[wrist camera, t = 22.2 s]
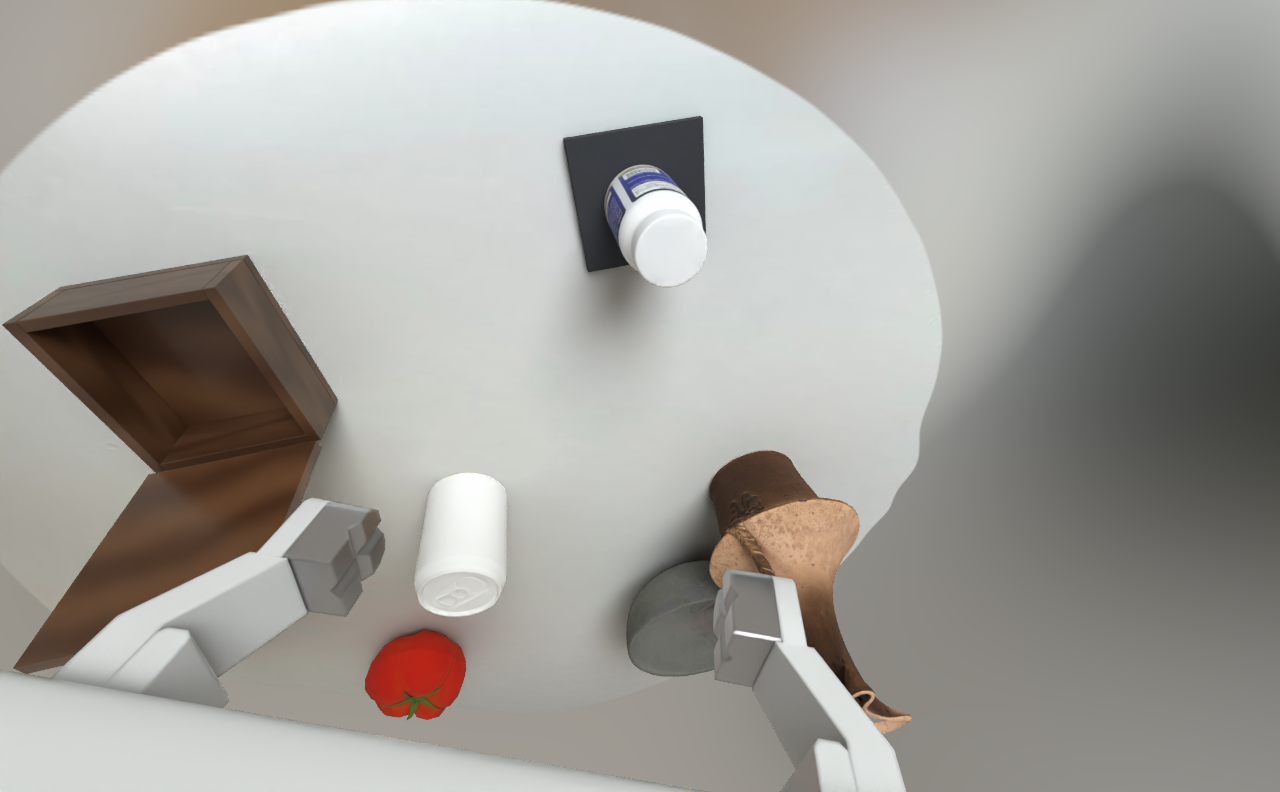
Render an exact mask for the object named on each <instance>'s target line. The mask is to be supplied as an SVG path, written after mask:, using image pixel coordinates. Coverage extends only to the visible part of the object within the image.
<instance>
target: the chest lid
mask: <svg viewBox="0 0 1280 792" xmlns="http://www.w3.org/2000/svg"><path fill="white" fill-rule="evenodd" d="M320 451H321V446H320V445H319V443H318V442H317V441H312V442H307V443H302V444H297V445H292V446H287V447H283V448H278V449H273V450H268V451H263V452H258V453H253V454H248V455H243V456H238V457H233V458H228V459H223V460H218V461H213V462H209V463H204V464H199V465H194V466H189V467H184V468H179V469H174V470H169V471H164V472H159V473H154V474H149V475H148V476H147V478H146V479H145V481H144V482H143V484H142V485H141V486H140V488H139V489H138V491H137V492H136V493H135V495H134V496H133V498H132V499H131V501H130V502H129V503H128V505H127V506H126V508H125V509H124V511H123V512H122V513H121V515H120V516H119V518H118V519H117V521H116V522H115V523H114V525H113V526H112V528H111V529H110V531H109V532H108V533H107V535H106V536H105V538H104V539H103V541H102V542H101V543H100V545H99V546H98V548H97V549H96V551H95V552H94V553H93V555H92V556H91V558H90V559H89V561H88V562H87V563H86V565H85V566H84V568H83V569H82V570H81V572H80V573H79V575H78V576H77V578H76V579H75V580H74V582H73V583H72V585H71V586H70V588H69V589H68V590H67V592H66V593H65V595H64V596H63V598H62V599H61V600H60V602H59V603H58V605H57V606H56V608H55V609H54V610H53V612H52V613H51V615H50V616H49V618H48V619H47V620H46V622H45V623H44V625H43V626H42V628H41V629H40V631H39V632H38V634H37V635H36V636H35V638H34V639H33V640H32V642H31V643H30V645H29V646H28V648H27V649H26V650H25V652H24V653H23V655H22V656H21V658H20V659H19V661H18V662H17V663H16V665H15V666H14V667H13V668H14V669H16V670H18V671H21V672H23V673H25V674H28V673H32V672H36V671H41V670H45V669H50V668H54V667H58V666H63V665H65V664H66V663H67V662H68V661H69V660H70V659H71V658H72V657H74V656H75V655H76V654H77V653H78V652H79V651H80V650H81V649H82V648H83V647H84V646H85V645H86V644H87V643H88V642H90V641H91V640H92V639H93V638H94V637H95V636H96V635H97V634H98V633H99V632H100V631H101V630H102V629H103V628H104V627H105V626H107V625H108V624H109V623H110V622H111V621H112V620H113V619H114V618H115V617H116V616H117V615H120V614H122V613H124V612H126V611H128V610H130V609H132V608H134V607H136V606H138V605H140V604H142V603H144V602H147V601H149V600H151V599H153V598H155V597H157V596H159V595H161V594H163V593H165V592H167V591H169V590H171V589H174V588H176V587H178V586H180V585H182V584H184V583H186V582H188V581H190V580H192V579H194V578H196V577H199V576H201V575H203V574H205V573H207V572H209V571H211V570H213V569H215V568H217V567H219V566H221V565H223V564H226V563H228V562H230V561H232V560H234V559H236V558H238V557H240V556H242V555H244V554H246V553H248V552H255V553H257V552H258V551H259V549H260V548H261V547H262V546H263V545H264V544H265V543H266V542H267V541H268V540H269V539H270V537H271V536H272V535H273V534H274V533H275V532H276V531H277V530H278V529H279V528H280V527H281V525H282V524H283V523H284V522H285V521H286V520H287V519H288V518H289V517H290V516H291V515H292V513H293V512H294V511H295V510H296V509H297V508H298V507H299V505H300V503H301V500H302V498H303V495H304V492H305V490H306V487H307V485H308V482H309V479H310V477H311V474H312V472H313V469H314V466H315V464H316V461H317V458H318V456H319V453H320Z"/></svg>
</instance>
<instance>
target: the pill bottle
mask: <svg viewBox="0 0 1280 792" xmlns="http://www.w3.org/2000/svg"><path fill="white" fill-rule="evenodd" d="M604 207H605V215H606V218H607V221H608V224H609V226H610V228H611V230H612V232H613V234H614V237H615V239H616V241H617V243H618V246H619V248H620V250H621V252H622V254H623V256H624V258H625V259H626V261H627V262H628V263H629V264H630V265H631V266H632V267H633V268H634V269H635V270H637V271H639V272H640V274H641V275H642V276H643V278H644V279H646V280H647V281H648V282H650V283H651V284H653V285H656V286H660V287H674V286H678V285H681V284H683V283H685V282H687V281H689V280H690V279H692V278H693V277H694V276H695V275H696V274H697V273H698V272H699V270H700V269H701V267H702V266H703V264H704V262H705V259H706V256H707V250H708V249H707V248H708V244H707V238H706V234H705V232H704V230H703V226H702V220H701V216H700V214H699V212H698V210H697V208H696V207H695V205H694V204H693V203H692V201H691V200H690V199H689V198H688V197H687V196H686V195H685V194H684V193H683V191H682V190H681V189H680V188H679V187H678V186H677V185H676V183H675V182H674V181H673V180H672V179H671V178H670V177H669V176H668V175H667V174H666V173H665V172H664V171H662V170H660V169H659V168H657V167H654V166H650V165H636V166H632V167H630V168H627V169H625V170H624V171H622V172H621V173H620V174H618V175H617V176H616V177H615V178H614V180H613V181H612V182H611V184H610V186H609V188H608V190H607V193H606V196H605V204H604Z"/></svg>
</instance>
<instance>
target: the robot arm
mask: <svg viewBox="0 0 1280 792" xmlns="http://www.w3.org/2000/svg"><path fill="white" fill-rule="evenodd" d="M380 521H381V518H380V515H379V511H378V510H374V509H369V508H364V507H359V506H354V505H349V504H344V503H338V502H333V501H328V500H322V499H317V498H309V499H308V500H306V501H304V502H303V503H302V504H301V505H300V506H299V507H298V508H297V509H296V510H295V511H294V512H293V513H292V515H291V516H290V517H289V518H288V519H287V520H286V521H285V522H284V523H283V524H282V525H281V527H280V528H279V529H278V530H277V531H276V532H275V533H274V534H273V535H272V536H271V537H270V539H269V540H268V541H267V542H266V543H265V544H264V545H263V546H262V547H261V548H260V549H259V551H258V552H257V553H255V552H248V553H246V554H244V555H242V556H240V557H238V558H236V559H234V560H232V561H230V562H228V563H226V564H223V565H221V566H219V567H217V568H215V569H213V570H211V571H209V572H207V573H205V574H203V575H201V576H199V577H196V578H194V579H192V580H190V581H188V582H186V583H184V584H182V585H180V586H178V587H176V588H174V589H171V590H169V591H167V592H165V593H163V594H161V595H159V596H157V597H155V598H153V599H151V600H149V601H147V602H144V603H142V604H140V605H138V606H136V607H134V608H132V609H130V610H128V611H126V612H124V613H122V614H120V615H117V616H116V617H115V618H114V619H113V620H112V621H111V622H110V623H109V624H108V625H107V626H105V627H104V628H103V629H102V630H101V631H100V632H99V633H98V634H97V635H96V636H95V637H94V638H93V639H92V640H91V641H90V642H88V643H87V644H86V645H85V646H84V647H83V648H82V649H81V650H80V651H79V652H78V653H77V654H76V655H75V656H74V657H72V658H71V659H70V660H69V661H68V662H67V663H66V664H65V665H64V666H63V667H62V668H61V669H60V670H59V671H58V672H57V673H55V674H54V675H53V676H52V677H51V678H46V677H40V676H35V675H29V674H23V673H17V672H11V671H5V670H0V792H705V791H699V790H694V789H688V788H682V787H677V786H670V785H665V784H659V783H654V782H648V781H642V780H636V779H630V778H625V777H618V776H613V775H607V774H601V773H595V772H590V771H584V770H578V769H573V768H567V767H561V766H555V765H550V764H544V763H538V762H532V761H526V760H521V759H515V758H509V757H503V756H498V755H492V754H486V753H480V752H474V751H469V750H463V749H457V748H451V747H446V746H440V745H434V744H428V743H422V742H417V741H411V740H405V739H400V738H394V737H388V736H382V735H376V734H370V733H365V732H358V731H353V730H347V729H342V728H336V727H330V726H324V725H318V724H312V723H307V722H301V721H295V720H289V719H283V718H278V717H272V716H266V715H260V714H255V713H249V712H243V711H237V710H232V709H226V708H224V707H225V706H226V704H227V703H228V701H229V700H228V694H227V692H226V691H225V689H224V687H223V686H222V684H221V682H220V681H219V679H218V677H219V676H221V675H222V674H224V673H225V672H226V671H228V670H229V669H231V668H232V667H233V666H235V665H236V664H238V663H239V662H240V661H242V660H243V659H245V658H246V657H247V656H249V655H250V654H252V653H253V652H254V651H256V650H257V649H259V648H260V647H262V646H263V645H264V644H266V643H267V642H269V641H270V640H271V639H273V638H274V637H276V636H277V635H278V634H280V633H281V632H283V631H284V630H285V629H287V628H288V627H290V626H291V625H292V624H294V623H295V622H297V621H298V620H300V619H301V618H302V617H304V616H305V615H307V614H308V612H307V611H309V612H316V613H323V614H330V615H337V616H344V617H346V616H347V614H348V613H349V611H350V610H351V608H352V607H353V605H354V603H355V602H356V600H357V599H358V597H359V596H360V594H361V593H362V591H363V590H362V583H361V581H363V580H364V579H366V578H368V577H369V576H371V575H373V574H374V572H375V571H376V569H377V567H378V566H379V564H380V562H381V559H382V556H383V554H384V551H385V537H384V534H383V533H382V532H381V531H380V530H379V529H378V528H377V526H378V524H379V523H380ZM713 632H714V634H715V635H716V637H717V638H718V641H717V643H716V646H715V649H714V671H715V680H718V681H723V682H728V683H733V684H738V685H744V686H748V687H753V688H752V690H753V692H754V694H755V696H756V698H757V699H758V701H759V703H760V705H761V707H762V709H763V711H764V712H765V714H766V716H767V718H768V720H769V722H770V723H771V725H772V727H773V729H774V731H775V733H776V734H777V736H778V738H779V740H780V742H781V743H782V745H783V747H784V749H785V751H786V753H787V754H788V756H789V758H790V760H791V762H792V764H793V765H794V767H795V769H796V770H795V771H794V773H793V774H792V776H791V777H790V778H789V780H788V781H787V783H786V784H785V786H784V787H783V788H782V790H781V791H780V792H906V789H905V786H904V782H903V779H902V775H901V772H900V768H899V765H898V761H897V758H896V754H895V751H894V749H893V748H892V747H891V745H890V744H889V743H888V741H887V740H886V739H885V738H884V736H883V735H882V734H881V732H880V731H879V730H878V729H877V727H876V726H875V725H874V724H873V722H872V721H871V720H870V718H869V717H868V716H867V715H866V713H865V712H864V711H863V710H862V708H861V707H860V706H859V704H858V703H857V702H856V701H855V699H854V698H853V697H852V696H851V694H850V693H849V692H848V690H847V689H846V688H845V687H844V685H843V684H842V683H841V682H840V680H839V679H838V678H837V676H836V675H835V674H834V673H833V671H832V670H831V669H830V668H829V666H828V665H827V664H826V662H825V661H824V660H823V659H822V657H821V656H820V655H819V654H818V652H817V651H816V650H815V648H813V647H808V646H807V642H806V636H805V631H804V626H803V621H802V616H801V610H800V605H799V600H798V595H797V590H796V585H795V582H794V581H793V579H788V578H782V577H776V576H770V575H767V574H760V573H754V572H748V571H741V570H735V569H727V570H726V571H725V574H724V576H723V588H722V589H720V590H719V591H718V594H717V597H716V601H715V607H714V615H713Z"/></svg>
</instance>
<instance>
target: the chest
mask: <svg viewBox="0 0 1280 792" xmlns="http://www.w3.org/2000/svg"><path fill="white" fill-rule="evenodd" d="M3 326H4V327H5V328H6V329H7V330H8V331H9V332H10V333H11V334H12V335H13V336H14V337H15V338H16V339H17V340H18V341H19V342H20V343H21V344H22V345H23V346H25V347H26V348H27V349H28V350H29V351H30V352H31V353H32V354H33V355H34V356H35V357H36V358H37V359H38V360H39V361H40V362H41V363H42V364H43V365H44V366H45V367H46V368H47V369H48V370H49V371H51V372H52V373H53V374H54V375H55V376H56V377H57V378H58V379H59V380H60V381H61V382H62V383H63V384H64V385H65V386H66V387H67V388H68V389H69V390H70V391H71V392H72V393H73V394H74V395H75V396H77V397H78V398H79V399H80V400H81V401H82V402H83V403H84V404H85V405H86V406H87V407H88V408H89V409H90V410H91V411H92V412H93V413H94V414H95V415H96V416H97V417H98V418H99V419H100V420H101V421H102V422H104V423H105V424H106V425H107V426H108V427H109V428H110V429H111V430H112V431H113V432H114V433H115V434H116V435H117V436H118V437H119V438H120V439H121V440H122V441H123V442H124V443H125V444H126V445H127V446H128V447H130V448H131V449H132V450H133V451H134V452H135V453H136V454H137V455H138V456H139V457H140V458H141V459H142V460H143V461H144V462H145V463H146V464H147V465H148V466H149V467H150V468H151V469H152V470H153V471H154V472H156V473H159V472H164V471H169V470H174V469H179V468H184V467H189V466H194V465H199V464H204V463H208V462H213V461H218V460H223V459H228V458H233V457H238V456H243V455H248V454H253V453H258V452H263V451H268V450H273V449H278V448H282V447H287V446H292V445H297V444H302V443H307V442H312V441H317V440H321V438H322V436H323V433H324V431H325V429H326V426H327V424H328V422H329V419H330V417H331V415H332V412H333V410H334V408H335V405H336V403H337V401H338V399H337V397H336V396H335V394H334V393H333V391H332V389H331V388H330V386H329V385H328V383H327V381H326V380H325V378H324V377H323V375H322V373H321V372H320V370H319V369H318V367H317V365H316V364H315V362H314V361H313V359H312V357H311V356H310V354H309V353H308V351H307V349H306V348H305V346H304V345H303V343H302V341H301V340H300V338H299V337H298V335H297V333H296V332H295V330H294V329H293V327H292V325H291V324H290V322H289V321H288V319H287V317H286V316H285V314H284V313H283V311H282V309H281V308H280V306H279V305H278V303H277V301H276V300H275V298H274V297H273V295H272V293H271V292H270V290H269V289H268V287H267V285H266V284H265V282H264V281H263V279H262V277H261V276H260V274H259V272H258V271H257V269H256V268H255V266H254V264H253V263H252V261H251V260H250V258H249V256H248V255H244V256H239V257H233V258H227V259H221V260H215V261H210V262H204V263H198V264H192V265H186V266H180V267H175V268H169V269H163V270H157V271H151V272H146V273H140V274H134V275H128V276H122V277H116V278H111V279H105V280H99V281H93V282H87V283H82V284H76V285H70V286H64V287H60V288H58V289H57V290H55V291H54V292H52V293H50V294H49V295H47V296H46V297H44V298H43V299H41V300H40V301H38V302H37V303H35V304H33V305H32V306H30V307H29V308H27V309H26V310H24V311H23V312H21V313H20V314H18V315H16V316H15V317H13V318H12V319H10V320H9V321H7V322H6V323H4V324H3Z"/></svg>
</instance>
